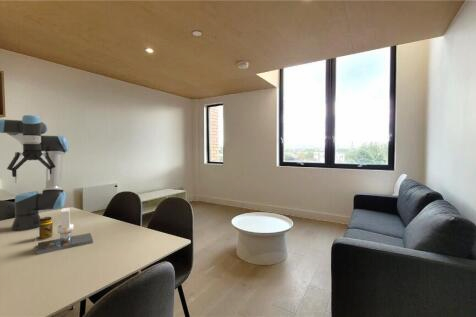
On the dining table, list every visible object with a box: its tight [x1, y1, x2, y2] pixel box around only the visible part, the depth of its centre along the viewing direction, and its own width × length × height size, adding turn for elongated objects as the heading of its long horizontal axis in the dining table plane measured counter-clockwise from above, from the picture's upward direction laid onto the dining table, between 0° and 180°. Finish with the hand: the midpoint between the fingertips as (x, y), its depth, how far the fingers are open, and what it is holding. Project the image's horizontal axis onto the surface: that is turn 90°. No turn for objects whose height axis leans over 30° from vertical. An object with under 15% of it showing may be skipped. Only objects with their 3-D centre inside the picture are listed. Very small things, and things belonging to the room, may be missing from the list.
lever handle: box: [57, 207, 74, 234], centre depth 125 cm, size 10×7×12 cm
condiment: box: [33, 216, 55, 242], centre depth 135 cm, size 7×8×12 cm
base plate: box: [35, 231, 94, 255], centre depth 126 cm, size 14×24×7 cm, turn 128°
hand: (33, 181), depth 126 cm, fingers open, 13 cm apart
